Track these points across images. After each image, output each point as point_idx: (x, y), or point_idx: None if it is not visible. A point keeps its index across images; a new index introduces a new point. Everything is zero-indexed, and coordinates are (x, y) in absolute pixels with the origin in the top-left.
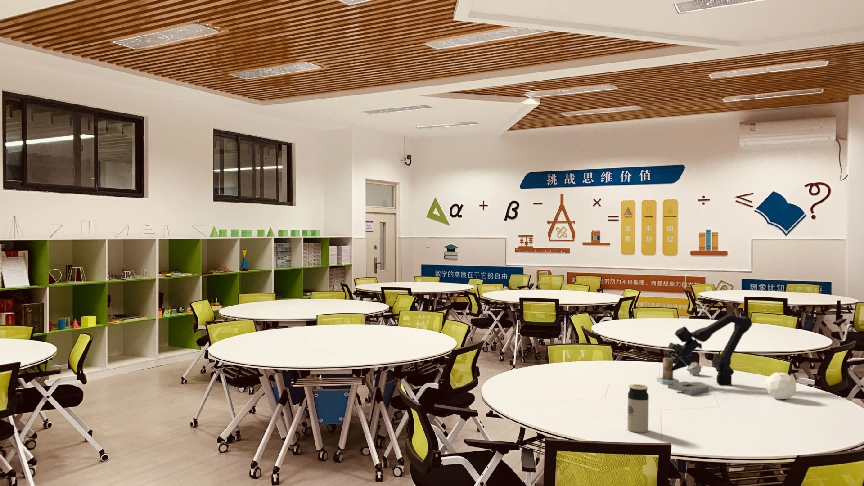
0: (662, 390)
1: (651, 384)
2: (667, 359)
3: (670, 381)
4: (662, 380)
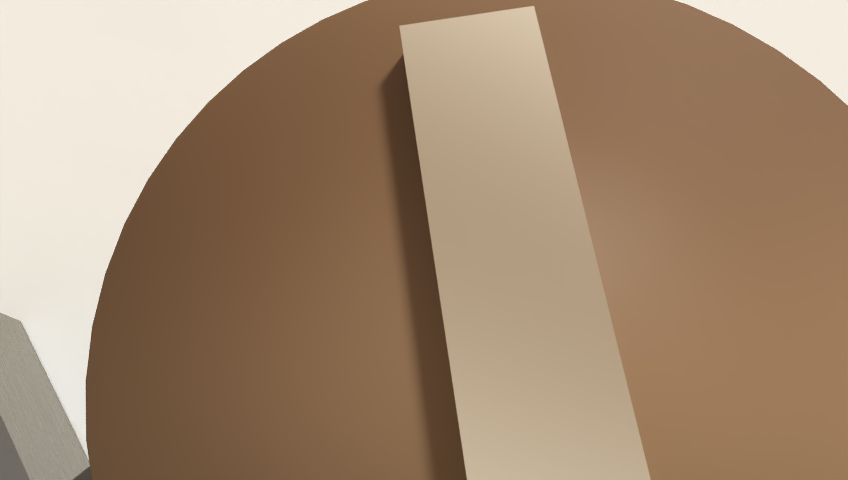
0: (4, 225)
1: None
2: (159, 178)
3: None
4: None
